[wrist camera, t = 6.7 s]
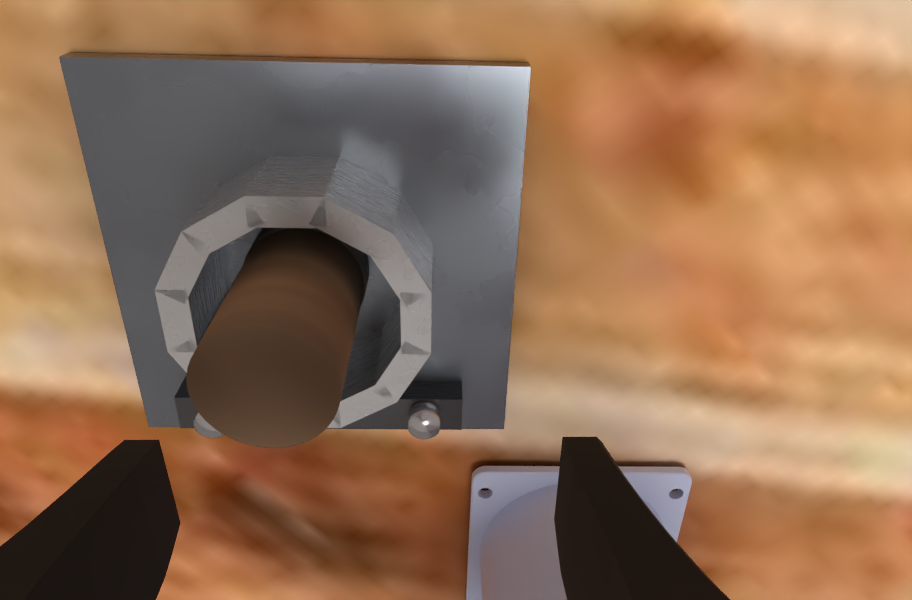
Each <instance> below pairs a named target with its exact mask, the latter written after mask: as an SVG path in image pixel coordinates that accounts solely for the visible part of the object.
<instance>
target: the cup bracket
mask: <svg viewBox="0 0 912 600" xmlns="http://www.w3.org/2000/svg"><path fill="white" fill-rule="evenodd" d="M59 58H60V62H61V66H62V70H63V74H64V79H65V83H66V87H67V91H68V95H69V99H70V103H71V107H72V112H73V116H74V120H75V124H76V128H77V132H78V136H79V140H80V145H81V149H82V153H83V157H84V161H85V165H86V169H87V173H88V178H89V182H90V186H91V190H92V194H93V198H94V202H95V206H96V211H97V215H98V219H99V223H100V227H101V231H102V235H103V239H104V244H105V248H106V252H107V256H108V260H109V264H110V268H111V272H112V276H113V281H114V285H115V289H116V293H117V297H118V301H119V305H120V309H121V314H122V318H123V322H124V326H125V330H126V334H127V338H128V342H129V347H130V351H131V355H132V359H133V363H134V367H135V371H136V375H137V380H138V384H139V388H140V392H141V396H142V400H143V404H144V408H145V413H146V417H147V421H148V425H149V427H180V428H195V429H196V431H197V432H198V433H199V434H201V435H203V436H205V437H208V438H217V437H220V436H222V435H223V434H222V433H220V432H219V431H217V430H216V429H215V428H213V427H212V426H211V425H210V424H209V423H207V422H206V421H205V420H204V419H203V417H202V416H201V415H200V414H199V413H198V411H197V410H196V408H195V407H194V405H193V403H192V401H191V399H190V396H189V393H188V389H187V383H186V374H187V368H188V365H189V362H190V359H191V357H192V355H193V354H194V352H195V350H196V348H197V346H198V345H199V343H200V341H201V339H202V337H203V336H204V334H205V332H206V330H207V329H208V327H209V325H210V323H211V321H212V320H213V318H214V316H215V314H216V312H217V311H218V309H219V307H220V305H221V304H222V302H223V300H224V298H225V296H226V295H227V293H228V291H229V289H230V287H231V286H232V284H233V282H234V280H235V278H236V277H237V275H238V273H239V271H240V270H241V268H242V266H243V263H244V260H245V257H246V255H247V253H248V251H249V250H250V248H251V246H252V244H253V243H254V241H255V239H256V237H257V235H258V234H259V233H260V232H261V230H262V229H263V228H318V229H320V230H322V231H324V232H325V233H327V234H329V235H331V236H333V237H335V238H337V239H339V240H341V241H343V242H345V243H347V244H348V245H350V246H352V247H354V248H356V249H358V250H360V251H362V252H364V253H366V254H367V257H368V262H369V278H368V283H367V288H366V293H365V297H364V300H363V303H362V305H361V308H360V312H359V317H358V321H357V326H356V331H355V335H354V340H353V345H352V349H351V354H350V359H349V363H348V368H347V372H346V377H345V382H344V386H343V391H342V396H341V400H340V405H339V408H338V411H337V413H336V415H335V417H334V419H333V420H332V422H331V423H330V425H329V426H328V427H327V428H326V429H409V432H410V433H411V434H412V435H413V436H414V437H416V438H419V439H430V438H432V437H434V436H436V435H437V434H438V432H439V430H440V429H456V430H462V429H504V420H505V407H506V394H507V380H508V367H509V354H510V340H511V327H512V313H513V300H514V287H515V273H516V260H517V246H518V233H519V220H520V206H521V193H522V179H523V166H524V153H525V139H526V126H527V113H528V99H529V86H530V72H531V66H530V64H529V63H528V62H492V61H447V60H401V59H355V58H309V57H263V56H217V55H172V54H126V53H80V52H69V53H67V54H65V55H62V56H60V57H59Z"/></svg>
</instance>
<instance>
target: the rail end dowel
mask: <svg viewBox="0 0 912 600" xmlns="http://www.w3.org/2000/svg"><path fill="white" fill-rule="evenodd" d="M368 278H369V262H368V257H367V254H366V253H364V252H362V251H360V250H358V249H356V248H354V247H352V246H350V245H348V244H347V243H345V242H343V241H341V240H339V239H337V238H335V237H333V236H331V235H329V234H327V233H325V232H324V231H322V230H320V229H318V228H263V229H262V230H261V232H260V233H259V234H258V235H257V237H256V239H255V241H254V243H253V244H252V246H251V248H250V250H249V251H248V253H247V255H246V257H245V260H244V263H243V266H242V268H241V270H240V271H239V273H238V275H237V277H236V278H235V280H234V282H233V284H232V286H231V287H230V289H229V291H228V293H227V295H226V296H225V298H224V300H223V302H222V304H221V305H220V307H219V309H218V311H217V312H216V314H215V316H214V318H213V320H212V321H211V323H210V325H209V327H208V329H207V330H206V332H205V334H204V336H203V337H202V339H201V341H200V343H199V345H198V346H197V348H196V350H195V352H194V354H193V355H192V357H191V359H190V362H189V365H188V368H187V374H186V383H187V389H188V393H189V396H190V399H191V401H192V403H193V405H194V407H195V408H196V410H197V411H198V413H199V414H200V415H201V416H202V417H203V419H204V420H205V421H206V422H207V423H209V424H210V425H211V426H212V427H213V428H215V429H216V430H217V431H219V432H220V433H222V434H224V435H225V436H227V437H229V438H231V439H234V440H236V441H238V442H241V443H244V444H248V445H252V446H257V447H265V448H281V447H289V446H294V445H297V444H301V443H304V442H306V441H308V440H311V439H312V438H314V437H316V436H317V435H319V434H320V433H321V432H323V431H324V430H325V429H326V428H327V427H328V426H329V425H330V423H331V422H332V420H333V419H334V417H335V415H336V413H337V411H338V408H339V405H340V400H341V396H342V391H343V386H344V382H345V377H346V372H347V368H348V363H349V359H350V354H351V349H352V345H353V340H354V335H355V331H356V326H357V321H358V317H359V312H360V308H361V305H362V303H363V300H364V297H365V293H366V288H367V283H368Z"/></svg>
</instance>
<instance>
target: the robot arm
mask: <svg viewBox="0 0 912 600" xmlns="http://www.w3.org/2000/svg"><path fill="white" fill-rule="evenodd" d="M691 485H692V478H691V476H690V473H689V472H688V470H687V469H685V468H683V467H626V466H617V464H616V463H615V461H614V460H613V458H612V457H611V455H610V454H609V452H608V451H607V449H606V448H605V446H604V445H603V443H602V442H601V441H600V440H599V439H598V438H597V437H563V439H562V449H561V458H560V466H481V467H479V468H477V469H475V471H474V472H473V473H472V480H471V501H470V521H469V542H468V563H467V584H466V600H730V599H729V598H728V597H727V596H726V595H725V594H724V593H723V592H722V591H721V590H720V589H719V588H718V587H717V586H716V585H715V584H714V583H713V582H712V581H711V580H710V579H709V578H708V577H707V576H706V575H705V573H704V572H703V571H702V570H701V569H700V568H699V567H698V566H697V565H696V564H695V563H694V561H693V560H692V559H691V558H690V557H689V556H688V555H687V554H686V552H685V551H684V550H683V549H682V548H681V547H680V546H679V545H678V543H677V540H678V536H679V532H680V528H681V524H682V520H683V516H684V512H685V508H686V504H687V500H688V496H689V493H690V489H691ZM482 488H489V490H486V491H483V490H481V489H482ZM673 489H678V490H676V491H672V490H673ZM179 526H180V520H179V516H178V512H177V508H176V504H175V500H174V496H173V492H172V489H171V485H170V481H169V477H168V473H167V469H166V465H165V462H164V458H163V454H162V450H161V446H160V442H159V440H124V441H123V442H122V443H121V444H119V445H118V446H117V447H116V448H115V449H113V450H112V451H111V452H110V453H109V454H108V455H107V456H105V457H104V458H103V459H102V460H101V461H100V462H99V463H97V464H96V465H95V466H94V467H93V468H92V469H91V470H90V471H88V472H87V473H86V474H85V475H84V476H83V477H82V478H81V479H80V480H78V481H77V482H76V483H75V484H74V485H73V486H72V487H70V488H69V489H68V490H67V491H66V492H65V493H64V494H62V495H61V496H60V497H59V498H58V499H57V500H56V501H54V502H53V503H52V504H51V505H50V506H49V507H47V508H46V509H45V510H44V511H43V512H42V513H41V514H39V515H38V516H37V517H36V518H35V519H34V520H32V521H31V522H30V523H29V524H28V525H27V526H25V527H24V528H23V529H22V530H20V531H19V532H18V533H17V534H15V535H14V536H13V537H12V538H10V539H9V540H8V541H7V542H5V543H4V544H3V545H2V546H0V600H156V598H157V595H158V593H159V591H160V588H161V586H162V583H163V581H164V578H165V575H166V572H167V569H168V565H169V562H170V559H171V555H172V552H173V548H174V544H175V541H176V537H177V533H178V530H179Z"/></svg>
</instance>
